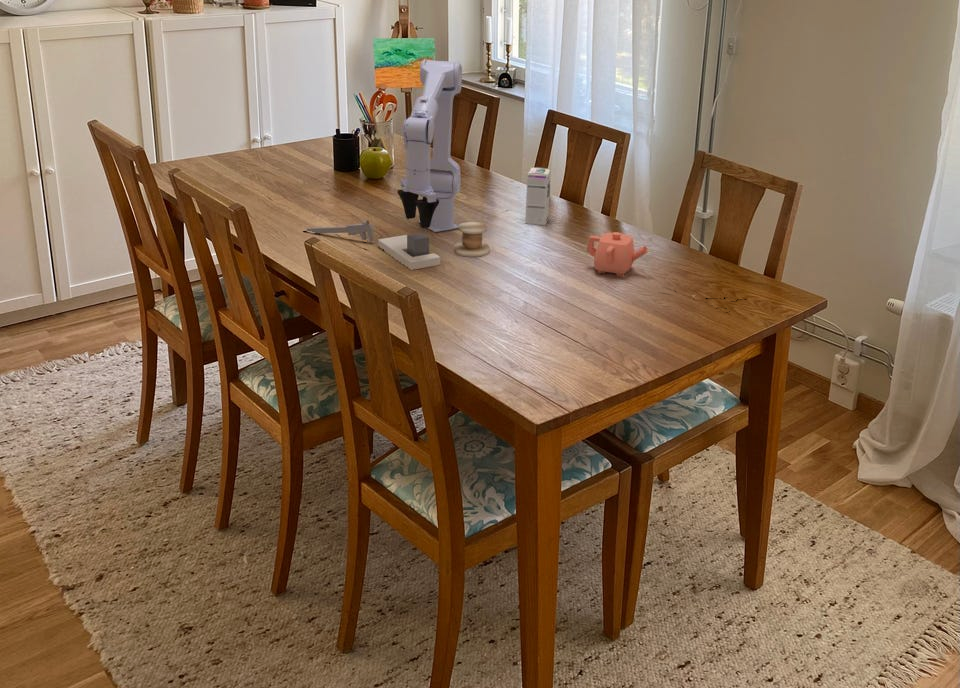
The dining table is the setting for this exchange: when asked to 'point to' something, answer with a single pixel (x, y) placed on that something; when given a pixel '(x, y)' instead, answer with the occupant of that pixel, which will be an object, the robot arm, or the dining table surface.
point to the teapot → (614, 252)
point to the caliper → (348, 230)
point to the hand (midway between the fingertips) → (417, 222)
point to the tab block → (417, 244)
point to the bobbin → (472, 240)
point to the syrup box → (538, 196)
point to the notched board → (399, 252)
